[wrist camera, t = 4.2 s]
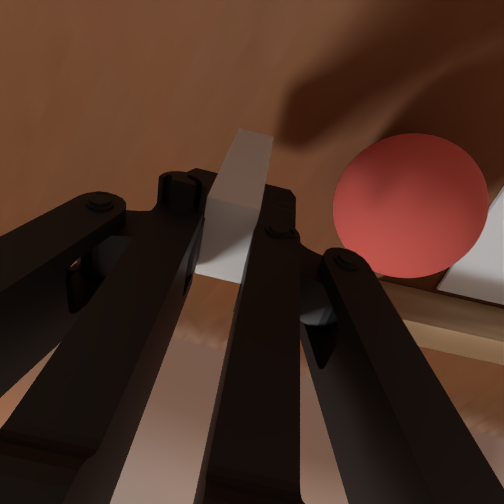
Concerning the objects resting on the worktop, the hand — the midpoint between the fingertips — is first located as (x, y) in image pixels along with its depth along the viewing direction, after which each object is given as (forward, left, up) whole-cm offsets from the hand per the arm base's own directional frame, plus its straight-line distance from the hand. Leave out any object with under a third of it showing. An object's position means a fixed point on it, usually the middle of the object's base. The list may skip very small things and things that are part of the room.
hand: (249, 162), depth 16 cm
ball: (0, +7, +1) cm, 7 cm away
